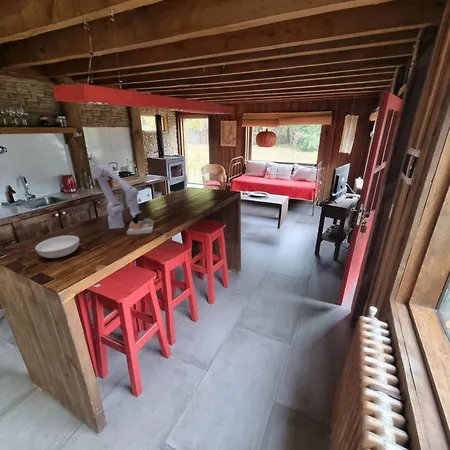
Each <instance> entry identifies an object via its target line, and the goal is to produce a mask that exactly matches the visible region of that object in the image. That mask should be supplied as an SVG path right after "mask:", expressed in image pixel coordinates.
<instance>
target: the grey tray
mask: <svg viewBox="0 0 450 450" xmlns="http://www.w3.org/2000/svg"><path fill="white" fill-rule="evenodd" d="M153 229H154V225H153V226H150V227H140V230H133V229H132V228H129V227H128V230H126V235H127V236H129V235H131V236H132V235H144V234H145V235H146V234H153Z"/></svg>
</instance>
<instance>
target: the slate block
mask: <svg viewBox="0 0 450 450" xmlns="http://www.w3.org/2000/svg"><path fill="white" fill-rule="evenodd" d="M151 220H152V219H151V218H143V221H144V224H150V223H151Z"/></svg>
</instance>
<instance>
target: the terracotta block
mask: <svg viewBox="0 0 450 450" xmlns="http://www.w3.org/2000/svg"><path fill="white" fill-rule="evenodd" d="M132 229H133V230H140V225H139V223H135V224H132Z"/></svg>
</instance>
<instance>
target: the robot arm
mask: <svg viewBox="0 0 450 450" xmlns="http://www.w3.org/2000/svg"><path fill="white" fill-rule="evenodd" d="M93 172H94V173H95V174H94V175H95V176H96V180H97V182H98V184H99V187H100V188H101V190H102V193H103V194H104V197H105V199H106V201H107V205H106V209H107V214H108V216H107V221H108V227H109V229H110V230H111V229H122V228H124V227H125V226H126V223H124V219H123V218H124V217H123V212H124V206H123V205H122V204H121V202H120V201H119V200H116V197H115V195H114V193H113V190H112V188H111V186H110V184H109V182H108V180H107V179H108V177H110V178H111V179H112V180H114V181H115V182H116V183H117V184H118V187H119V188H120V189H121V190H122V191H123V192H125V196H126V197H127V200H128V206H129V212H130V218H131V219H132V222H134V224H135V223H138V221H139V220H140V219H139V218H140V217H139V216H140V215H141V213H142V211H141V210H140V209H139V202H138V195H139V190H138V189H137V187H135V186H132V185H131V184H130V183H128V181H127V180H125V179H123V178H121V177H120V176H119V175H118V174H117V173H116V171H114V167H112V166H111V165H110V164H108V163H107V164H101V165H96V166H95V168H94V170H93Z"/></svg>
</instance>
